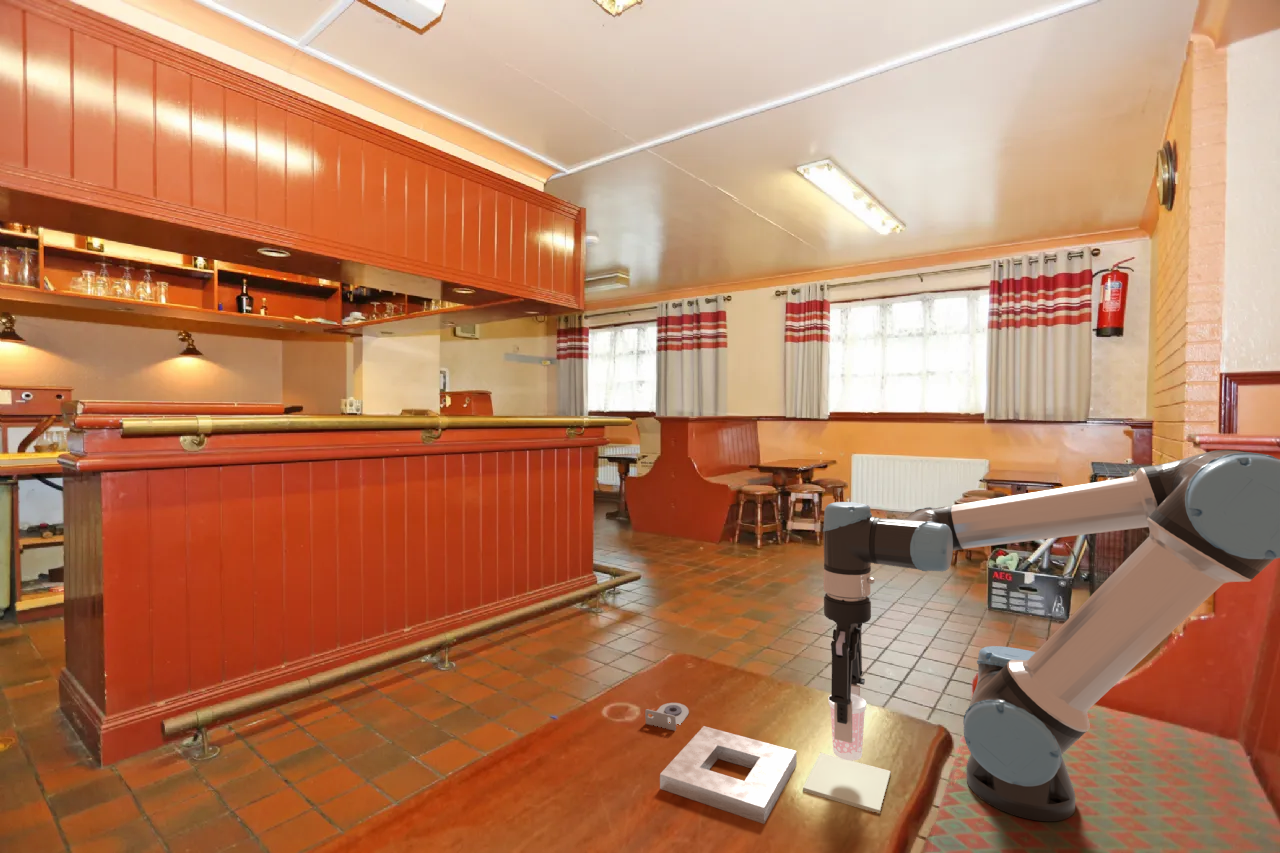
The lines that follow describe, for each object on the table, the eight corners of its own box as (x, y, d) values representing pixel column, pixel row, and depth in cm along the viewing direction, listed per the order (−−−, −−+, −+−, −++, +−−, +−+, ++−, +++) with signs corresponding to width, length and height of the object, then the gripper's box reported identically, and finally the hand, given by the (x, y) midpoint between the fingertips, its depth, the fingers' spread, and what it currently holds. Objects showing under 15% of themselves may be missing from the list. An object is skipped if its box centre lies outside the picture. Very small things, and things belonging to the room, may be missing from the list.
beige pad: (890, 774, 105) (890, 771, 105) (879, 814, 94) (879, 810, 94) (820, 755, 111) (820, 752, 111) (802, 791, 100) (802, 787, 100)
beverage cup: (849, 740, 106) (849, 661, 106) (874, 758, 101) (874, 675, 100) (820, 747, 104) (820, 667, 104) (845, 766, 98) (844, 681, 98)
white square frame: (796, 764, 108) (796, 750, 108) (764, 824, 92) (764, 807, 92) (703, 738, 117) (703, 726, 117) (660, 788, 101) (659, 773, 101)
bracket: (693, 711, 129) (693, 695, 129) (675, 733, 120) (674, 716, 120) (665, 704, 132) (665, 689, 132) (645, 726, 123) (645, 709, 122)
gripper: (860, 614, 92) (860, 765, 92) (879, 583, 108) (879, 711, 109) (810, 607, 96) (811, 751, 96) (836, 578, 112) (837, 702, 112)
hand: (847, 730), depth 102 cm, fingers closed on beverage cup, 6 cm apart
